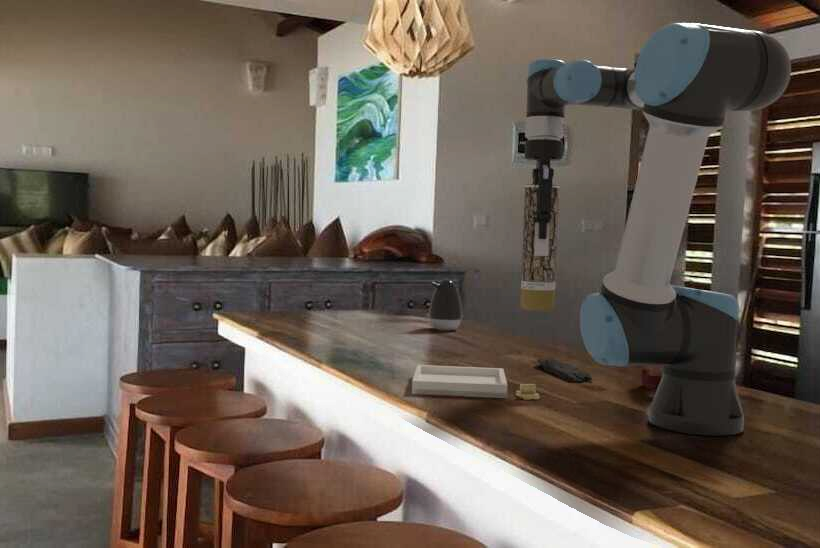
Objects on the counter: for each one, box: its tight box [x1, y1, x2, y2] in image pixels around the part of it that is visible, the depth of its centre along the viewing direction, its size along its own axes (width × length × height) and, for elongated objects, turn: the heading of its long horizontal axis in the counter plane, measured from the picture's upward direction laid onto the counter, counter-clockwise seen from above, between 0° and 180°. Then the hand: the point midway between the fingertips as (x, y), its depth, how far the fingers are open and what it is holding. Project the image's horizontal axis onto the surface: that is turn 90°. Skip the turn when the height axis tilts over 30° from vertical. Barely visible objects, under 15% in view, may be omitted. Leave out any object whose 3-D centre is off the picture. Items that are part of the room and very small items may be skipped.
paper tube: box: [519, 183, 560, 312], centre depth 172 cm, size 7×7×25 cm
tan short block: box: [515, 383, 540, 401], centre depth 163 cm, size 4×3×3 cm
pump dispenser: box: [428, 278, 464, 332], centre depth 258 cm, size 10×10×15 cm
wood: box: [536, 357, 593, 384], centre depth 190 cm, size 22×7×3 cm, turn 15°
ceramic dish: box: [411, 364, 508, 399], centre depth 171 cm, size 18×18×2 cm
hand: (539, 254), depth 172 cm, fingers closed on paper tube, 7 cm apart
